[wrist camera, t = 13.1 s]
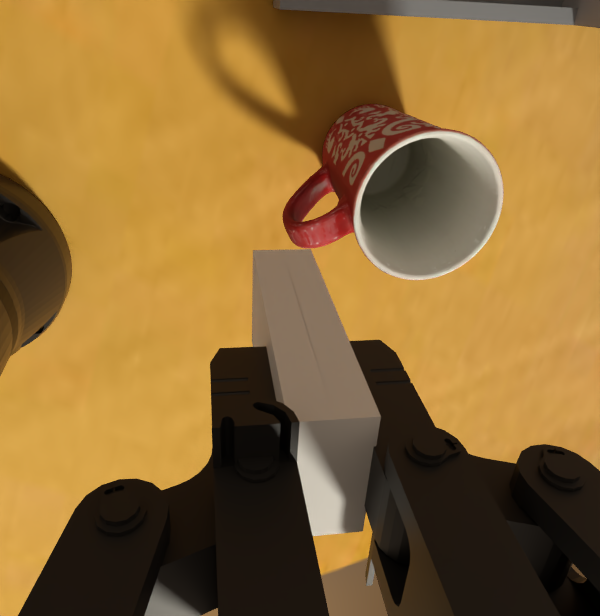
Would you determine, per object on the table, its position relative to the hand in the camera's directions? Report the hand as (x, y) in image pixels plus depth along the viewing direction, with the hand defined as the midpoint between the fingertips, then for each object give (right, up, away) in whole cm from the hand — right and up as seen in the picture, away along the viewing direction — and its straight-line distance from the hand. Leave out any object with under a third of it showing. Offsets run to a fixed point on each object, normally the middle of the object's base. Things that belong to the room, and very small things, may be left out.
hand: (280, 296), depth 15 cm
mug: (+4, +12, +29) cm, 31 cm away
